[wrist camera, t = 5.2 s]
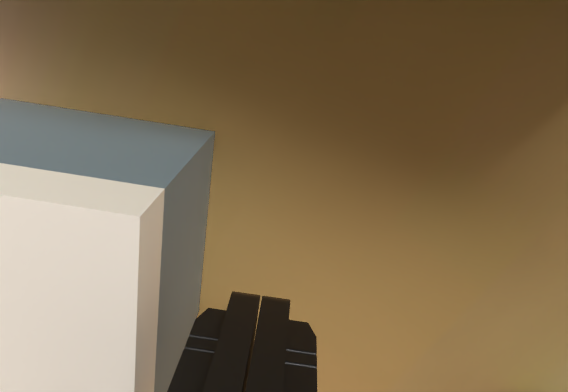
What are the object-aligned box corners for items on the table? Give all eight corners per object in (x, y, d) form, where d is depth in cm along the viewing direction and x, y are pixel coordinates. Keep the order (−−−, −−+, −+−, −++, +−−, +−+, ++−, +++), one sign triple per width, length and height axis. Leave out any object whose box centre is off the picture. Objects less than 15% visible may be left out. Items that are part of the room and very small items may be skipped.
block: (215, 131, 15) (140, 216, 8) (199, 310, 17) (131, 483, 11) (2, 97, 15) (-238, 157, 8) (17, 281, 17) (-159, 437, 11)
